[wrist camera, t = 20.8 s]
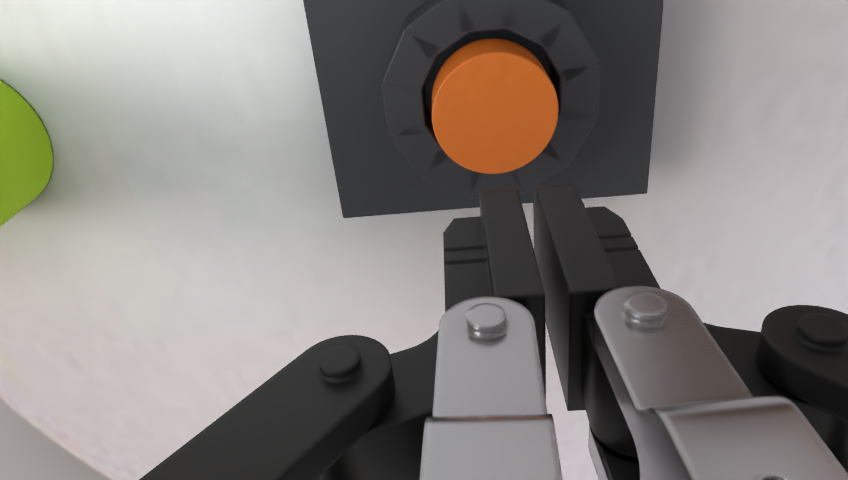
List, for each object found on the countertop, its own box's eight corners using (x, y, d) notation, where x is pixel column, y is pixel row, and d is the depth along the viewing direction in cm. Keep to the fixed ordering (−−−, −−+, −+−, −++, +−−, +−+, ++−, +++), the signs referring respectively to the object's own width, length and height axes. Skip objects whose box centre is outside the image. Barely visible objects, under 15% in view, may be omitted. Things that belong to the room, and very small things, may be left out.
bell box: (649, -92, 20) (694, -85, 17) (631, 169, 25) (663, 217, 21) (306, -56, 21) (281, -41, 17) (349, 192, 25) (336, 243, 22)
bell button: (549, 31, 19) (559, 46, 17) (549, 147, 20) (558, 169, 19) (426, 43, 19) (425, 59, 17) (436, 156, 21) (437, 179, 19)
